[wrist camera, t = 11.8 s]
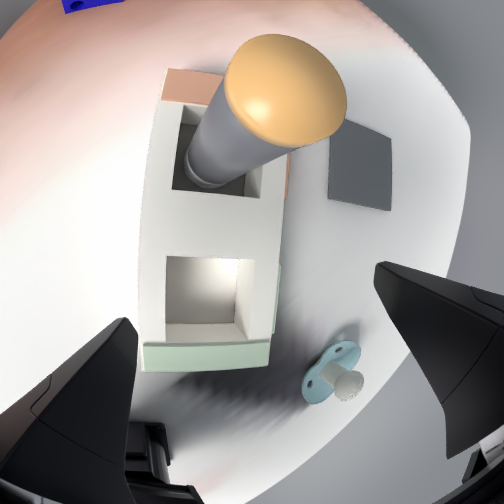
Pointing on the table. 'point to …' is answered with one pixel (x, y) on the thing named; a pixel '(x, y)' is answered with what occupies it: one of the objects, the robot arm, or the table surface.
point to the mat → (360, 167)
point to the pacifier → (334, 374)
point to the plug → (265, 109)
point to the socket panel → (206, 243)
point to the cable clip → (84, 4)
